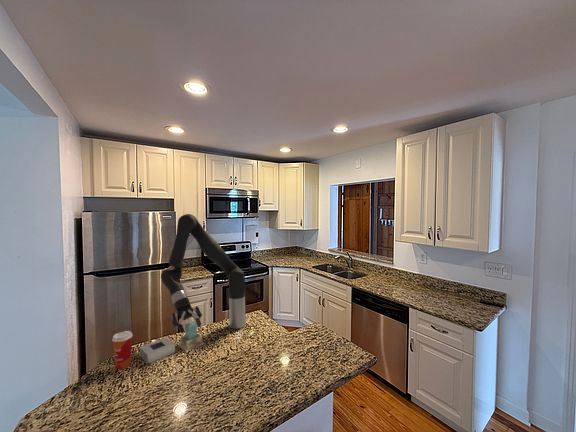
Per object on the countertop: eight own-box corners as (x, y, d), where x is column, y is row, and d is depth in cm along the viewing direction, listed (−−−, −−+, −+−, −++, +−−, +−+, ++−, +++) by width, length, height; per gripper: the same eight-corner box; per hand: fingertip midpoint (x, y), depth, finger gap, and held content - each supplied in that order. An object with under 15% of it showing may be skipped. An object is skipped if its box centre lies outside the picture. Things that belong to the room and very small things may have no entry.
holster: (195, 338, 137) (195, 330, 137) (205, 344, 130) (205, 336, 130) (177, 345, 129) (176, 337, 129) (186, 353, 122) (186, 344, 122)
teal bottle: (193, 340, 132) (192, 316, 132) (196, 343, 130) (196, 318, 129) (185, 344, 129) (185, 318, 129) (189, 346, 127) (188, 320, 126)
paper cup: (111, 365, 113) (110, 334, 113) (131, 358, 119) (130, 328, 118) (115, 373, 108) (114, 340, 107) (135, 365, 113) (134, 334, 113)
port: (166, 346, 128) (166, 337, 128) (175, 354, 122) (174, 344, 121) (140, 357, 120) (139, 346, 120) (147, 365, 113) (147, 355, 113)
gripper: (169, 301, 129) (179, 330, 122) (195, 294, 140) (207, 321, 132) (165, 308, 133) (175, 338, 125) (191, 301, 143) (202, 328, 136)
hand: (191, 329), depth 129 cm, fingers open, 8 cm apart
